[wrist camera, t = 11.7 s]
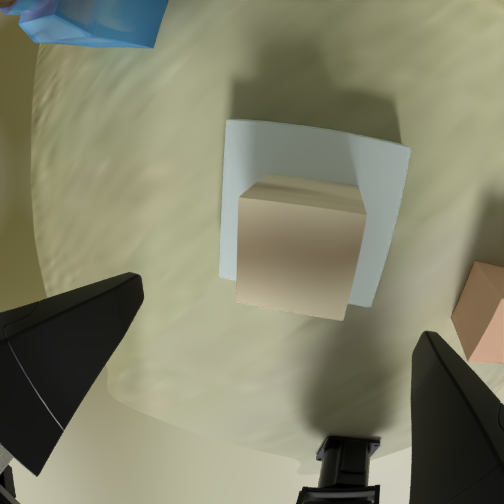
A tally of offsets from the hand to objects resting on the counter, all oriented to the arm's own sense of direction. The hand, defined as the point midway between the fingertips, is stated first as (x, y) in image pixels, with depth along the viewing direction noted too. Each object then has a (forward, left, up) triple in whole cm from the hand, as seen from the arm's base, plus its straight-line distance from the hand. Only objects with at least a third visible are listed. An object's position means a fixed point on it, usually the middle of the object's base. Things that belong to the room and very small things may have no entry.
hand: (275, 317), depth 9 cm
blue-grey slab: (0, 0, -12) cm, 12 cm away
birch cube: (0, 0, -9) cm, 9 cm away
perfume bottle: (+14, +14, -12) cm, 23 cm away
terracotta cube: (-4, -15, -12) cm, 19 cm away
